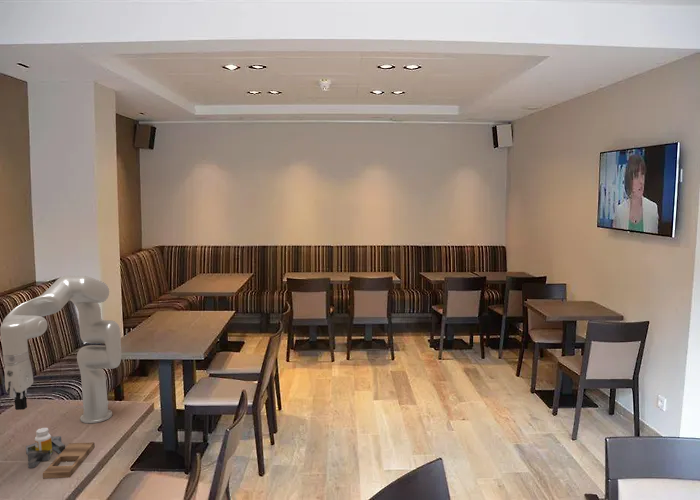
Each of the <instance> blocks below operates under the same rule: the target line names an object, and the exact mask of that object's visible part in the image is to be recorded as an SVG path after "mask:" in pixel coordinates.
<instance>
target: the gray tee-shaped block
mask: <svg viewBox="0 0 700 500" xmlns="http://www.w3.org/2000/svg"><path fill="white" fill-rule="evenodd" d="M50 459H52V458H51V455H50V450H42V451H30V452H29V453H28V455H27V460H28V462H27V465H28V469H35V468H36V467H37V466H38V465H39V464H40V463H41V462H44V461H46V462H47V461H49V460H50Z"/></svg>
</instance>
